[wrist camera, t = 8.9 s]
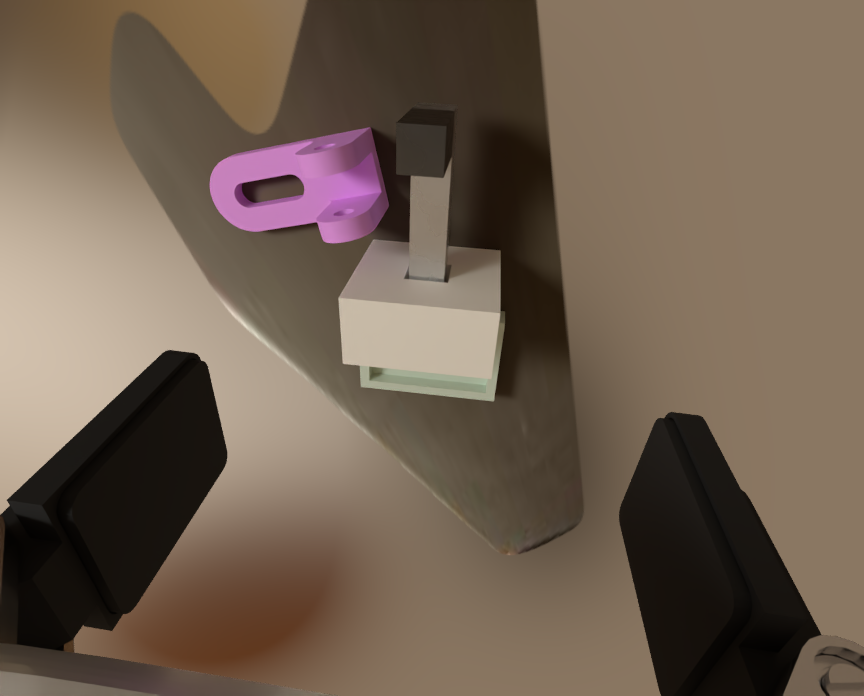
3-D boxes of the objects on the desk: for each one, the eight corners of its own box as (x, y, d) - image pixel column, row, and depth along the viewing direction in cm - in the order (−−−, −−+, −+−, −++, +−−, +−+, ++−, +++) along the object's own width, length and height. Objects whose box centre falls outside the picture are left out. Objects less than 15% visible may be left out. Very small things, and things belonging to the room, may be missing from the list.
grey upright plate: (418, 102, 30) (396, 122, 23) (457, 105, 29) (446, 126, 23) (413, 292, 37) (395, 346, 31) (445, 295, 36) (433, 350, 30)
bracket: (371, 126, 34) (345, 147, 29) (389, 205, 37) (369, 238, 32) (206, 159, 37) (152, 184, 31) (236, 230, 40) (191, 264, 34)
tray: (363, 298, 42) (357, 309, 40) (505, 311, 41) (505, 323, 39) (365, 373, 46) (360, 386, 45) (494, 387, 45) (493, 401, 44)
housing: (373, 239, 39) (338, 297, 30) (500, 250, 38) (500, 313, 30) (374, 295, 42) (342, 363, 33) (493, 307, 41) (491, 379, 32)
